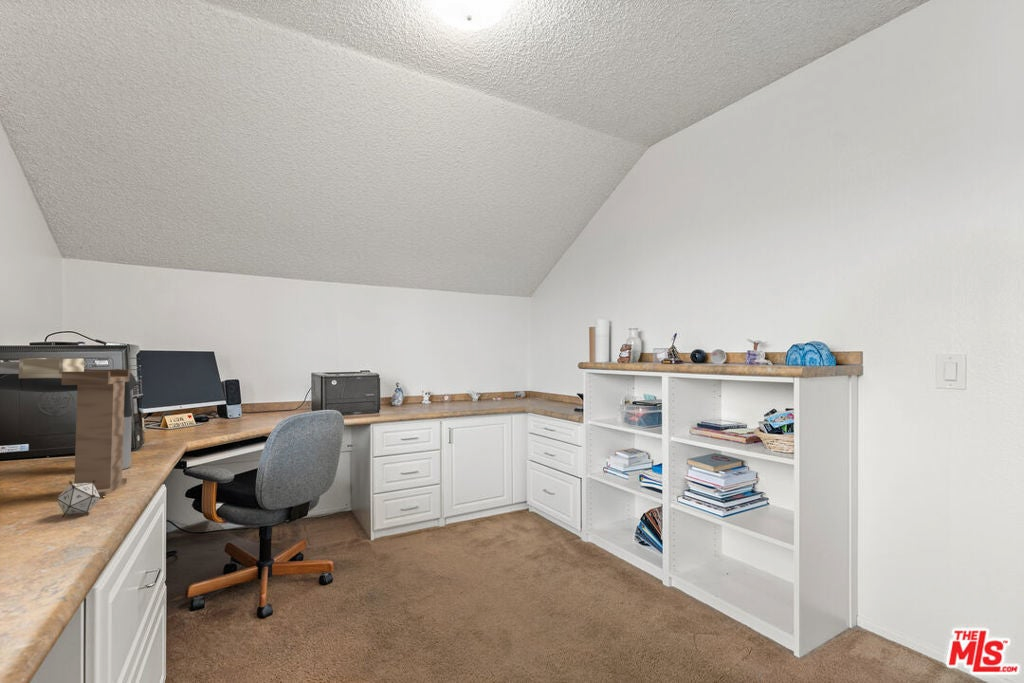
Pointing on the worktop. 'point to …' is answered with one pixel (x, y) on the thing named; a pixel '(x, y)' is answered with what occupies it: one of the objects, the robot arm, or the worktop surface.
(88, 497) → the game die
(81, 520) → the worktop surface
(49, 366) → the tray
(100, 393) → the stand
